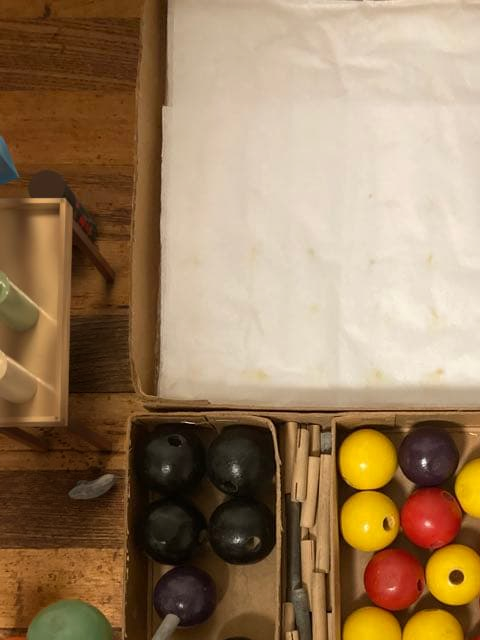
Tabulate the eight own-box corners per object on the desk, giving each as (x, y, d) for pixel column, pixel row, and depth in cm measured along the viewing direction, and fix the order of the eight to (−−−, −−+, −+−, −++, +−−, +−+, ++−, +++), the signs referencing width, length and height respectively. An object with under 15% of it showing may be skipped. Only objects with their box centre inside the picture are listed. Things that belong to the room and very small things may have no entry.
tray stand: (34, 455, 147) (-38, 422, 122) (40, 268, 150) (-30, 198, 125) (115, 455, 147) (59, 421, 122) (118, 267, 150) (65, 197, 125)
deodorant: (60, 242, 150) (24, 201, 136) (67, 211, 151) (32, 167, 136) (93, 249, 150) (60, 208, 136) (100, 217, 151) (68, 173, 136)
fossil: (116, 471, 147) (107, 466, 142) (123, 489, 146) (114, 485, 142) (71, 488, 146) (60, 484, 141) (78, 507, 146) (67, 503, 141)
